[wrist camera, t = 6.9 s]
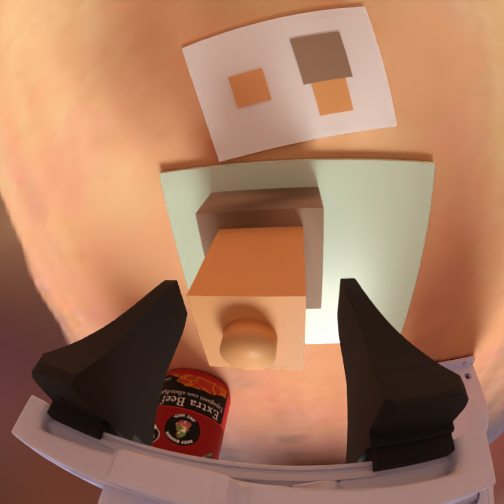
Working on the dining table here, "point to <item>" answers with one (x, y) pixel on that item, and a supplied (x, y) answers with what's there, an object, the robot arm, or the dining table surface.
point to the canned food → (191, 414)
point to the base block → (271, 223)
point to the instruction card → (291, 81)
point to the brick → (252, 299)
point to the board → (328, 224)
